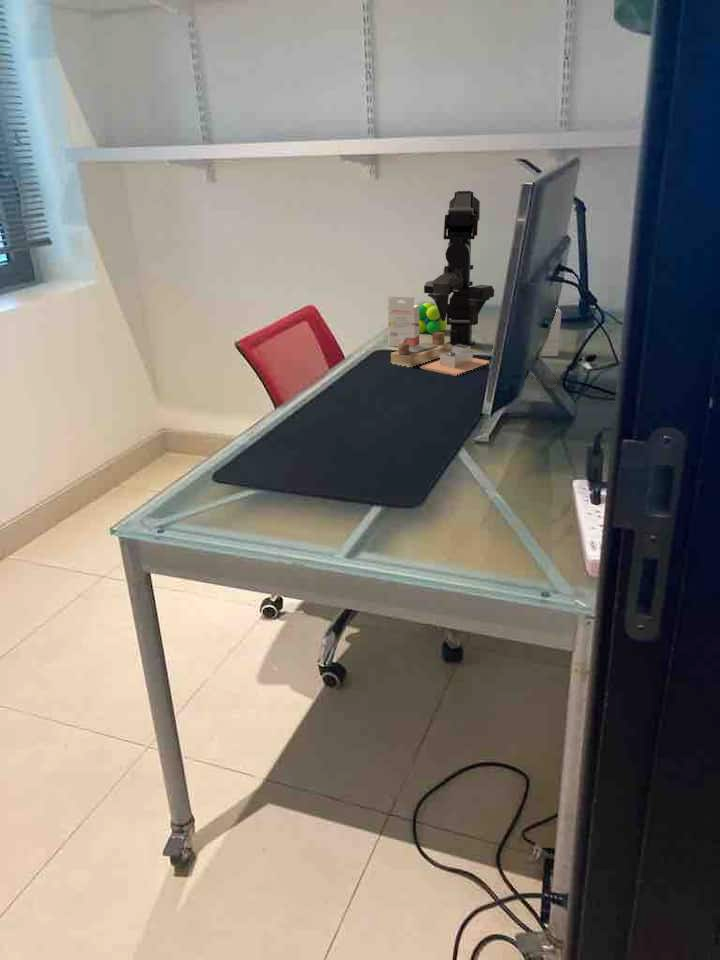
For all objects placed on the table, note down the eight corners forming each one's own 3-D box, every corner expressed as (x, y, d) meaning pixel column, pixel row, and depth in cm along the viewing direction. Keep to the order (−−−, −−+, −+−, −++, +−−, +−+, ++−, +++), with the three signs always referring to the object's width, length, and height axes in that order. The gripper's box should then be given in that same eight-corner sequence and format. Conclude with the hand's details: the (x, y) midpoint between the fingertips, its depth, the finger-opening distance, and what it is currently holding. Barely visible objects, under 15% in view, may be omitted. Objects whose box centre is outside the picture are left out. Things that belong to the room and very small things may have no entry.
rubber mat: (456, 356, 214) (456, 354, 214) (491, 363, 206) (492, 361, 206) (420, 368, 203) (420, 366, 203) (456, 376, 196) (456, 373, 195)
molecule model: (436, 336, 239) (448, 330, 245) (436, 307, 235) (449, 303, 242) (411, 333, 243) (424, 328, 250) (411, 305, 240) (424, 301, 246)
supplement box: (554, 350, 218) (558, 306, 213) (558, 357, 211) (562, 311, 206) (528, 350, 219) (531, 306, 214) (531, 357, 212) (534, 311, 207)
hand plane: (431, 351, 221) (432, 330, 218) (451, 354, 216) (451, 333, 214) (390, 363, 209) (390, 342, 206) (410, 367, 204) (410, 345, 202)
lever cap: (457, 359, 209) (458, 343, 207) (472, 362, 206) (473, 345, 204) (439, 365, 203) (439, 348, 202) (454, 368, 200) (455, 351, 198)
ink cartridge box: (419, 344, 229) (420, 294, 223) (414, 347, 225) (415, 297, 219) (393, 342, 232) (392, 293, 226) (387, 346, 228) (387, 296, 222)
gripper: (410, 262, 195) (410, 323, 201) (470, 268, 183) (468, 332, 189) (437, 257, 202) (436, 317, 208) (496, 262, 190) (493, 325, 196)
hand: (457, 322), depth 200 cm, fingers open, 9 cm apart
